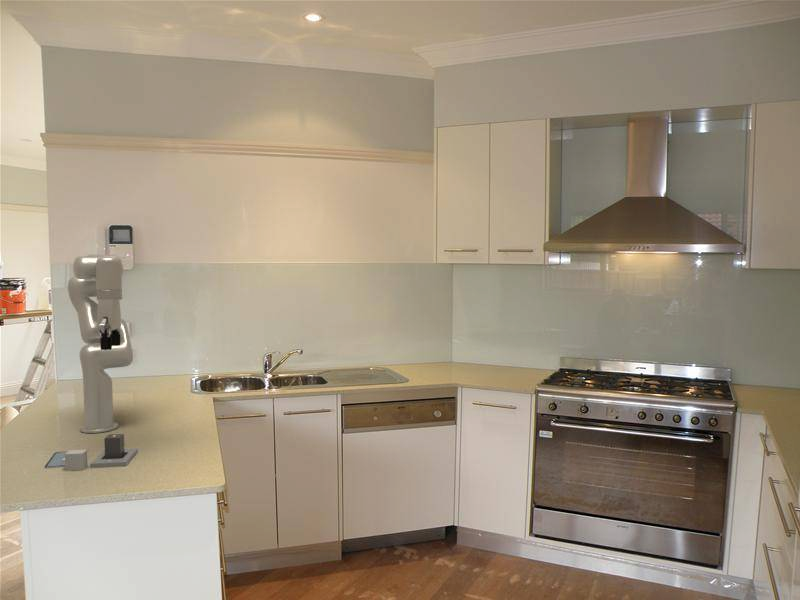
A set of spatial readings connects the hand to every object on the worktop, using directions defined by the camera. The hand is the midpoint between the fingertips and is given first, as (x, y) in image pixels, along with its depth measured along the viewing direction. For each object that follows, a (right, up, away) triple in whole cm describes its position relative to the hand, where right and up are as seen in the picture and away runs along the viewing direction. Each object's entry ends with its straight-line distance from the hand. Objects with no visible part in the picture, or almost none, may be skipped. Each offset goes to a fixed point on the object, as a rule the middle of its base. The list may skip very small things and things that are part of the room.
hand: (110, 347), depth 203 cm
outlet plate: (+6, -34, -10) cm, 36 cm away
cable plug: (-2, -35, -18) cm, 39 cm away
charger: (+6, -34, -10) cm, 36 cm away
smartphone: (-10, -35, -10) cm, 38 cm away
